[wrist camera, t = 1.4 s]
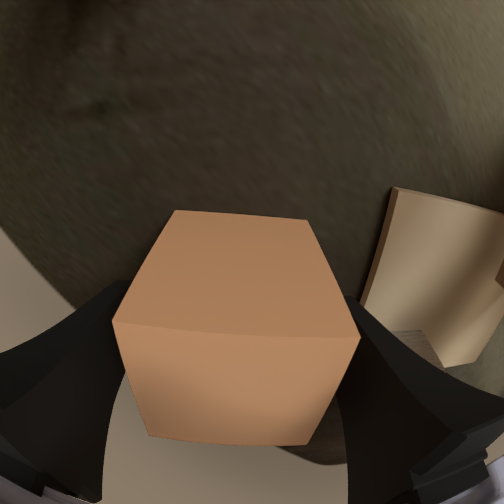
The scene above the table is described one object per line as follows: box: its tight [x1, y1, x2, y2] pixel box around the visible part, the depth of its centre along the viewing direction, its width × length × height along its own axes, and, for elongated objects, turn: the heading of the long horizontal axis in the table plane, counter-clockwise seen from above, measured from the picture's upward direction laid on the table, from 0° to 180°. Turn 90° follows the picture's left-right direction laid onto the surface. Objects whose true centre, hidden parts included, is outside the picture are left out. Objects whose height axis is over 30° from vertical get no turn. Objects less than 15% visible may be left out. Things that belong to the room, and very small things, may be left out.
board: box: [359, 187, 504, 368], centre depth 14 cm, size 12×11×1 cm
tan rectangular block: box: [112, 210, 361, 446], centre depth 10 cm, size 5×5×7 cm
